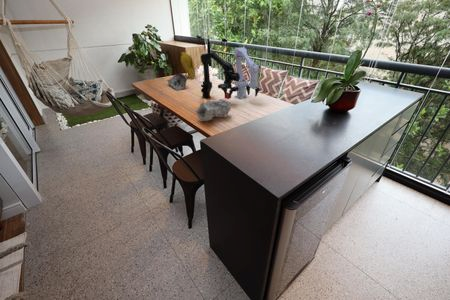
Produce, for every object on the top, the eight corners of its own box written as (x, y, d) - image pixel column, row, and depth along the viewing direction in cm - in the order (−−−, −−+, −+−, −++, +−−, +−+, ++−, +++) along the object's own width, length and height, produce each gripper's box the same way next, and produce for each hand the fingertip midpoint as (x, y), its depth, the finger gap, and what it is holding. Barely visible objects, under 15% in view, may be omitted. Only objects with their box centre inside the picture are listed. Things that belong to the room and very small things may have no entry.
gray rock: (192, 83, 223) (180, 73, 240) (188, 78, 216) (175, 68, 233) (181, 95, 223) (169, 84, 240) (176, 91, 217) (164, 80, 234)
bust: (212, 120, 140) (239, 108, 156) (200, 99, 140) (228, 90, 156) (203, 130, 153) (228, 118, 170) (191, 111, 154) (218, 101, 170)
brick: (227, 96, 188) (227, 92, 186) (231, 97, 186) (231, 93, 184) (224, 98, 184) (224, 93, 182) (228, 99, 183) (228, 94, 180)
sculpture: (191, 75, 276) (188, 51, 262) (201, 77, 256) (198, 51, 242) (178, 77, 267) (174, 52, 252) (186, 80, 247) (182, 52, 232)
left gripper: (214, 79, 175) (214, 97, 184) (232, 83, 166) (231, 101, 175) (221, 77, 182) (221, 94, 191) (239, 80, 174) (238, 98, 182)
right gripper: (243, 79, 177) (243, 95, 184) (258, 82, 170) (257, 98, 178) (247, 78, 182) (246, 93, 189) (262, 80, 175) (260, 96, 182)
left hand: (227, 96), depth 185 cm, fingers closed on brick, 4 cm apart
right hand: (252, 95), depth 184 cm, fingers open, 7 cm apart
